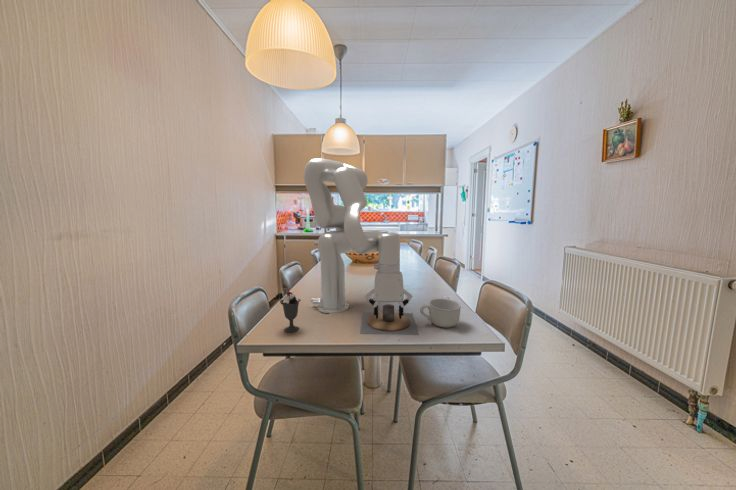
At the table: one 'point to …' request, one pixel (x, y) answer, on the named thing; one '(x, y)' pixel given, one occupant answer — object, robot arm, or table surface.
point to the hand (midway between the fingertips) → (388, 316)
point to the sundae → (290, 310)
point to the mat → (368, 330)
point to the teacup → (442, 312)
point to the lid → (388, 320)
